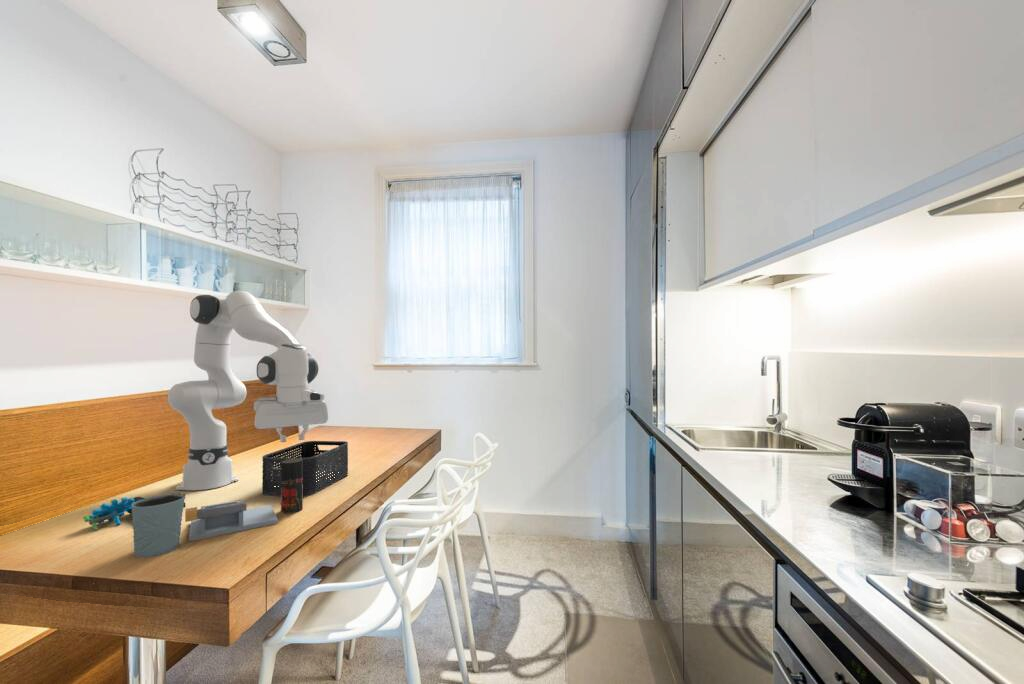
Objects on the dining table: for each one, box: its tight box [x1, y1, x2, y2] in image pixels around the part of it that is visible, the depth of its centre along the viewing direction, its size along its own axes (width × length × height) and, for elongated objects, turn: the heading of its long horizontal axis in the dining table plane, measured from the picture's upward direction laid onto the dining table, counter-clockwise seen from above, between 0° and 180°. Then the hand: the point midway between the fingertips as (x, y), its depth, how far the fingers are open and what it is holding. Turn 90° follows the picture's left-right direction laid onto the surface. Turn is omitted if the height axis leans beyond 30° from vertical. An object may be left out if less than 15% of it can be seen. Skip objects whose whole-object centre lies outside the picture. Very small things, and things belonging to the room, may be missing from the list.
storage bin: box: [261, 440, 349, 497], centre depth 161 cm, size 29×19×13 cm
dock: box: [188, 499, 278, 542], centre depth 122 cm, size 15×20×5 cm
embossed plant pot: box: [131, 493, 186, 559], centre depth 106 cm, size 10×10×12 cm
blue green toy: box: [82, 496, 134, 532], centre depth 122 cm, size 11×6×10 cm
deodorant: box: [280, 459, 304, 515], centre depth 133 cm, size 6×6×15 cm
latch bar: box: [184, 501, 247, 523], centre depth 116 cm, size 3×13×3 cm, turn 125°
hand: (292, 440), depth 133 cm, fingers open, 4 cm apart
